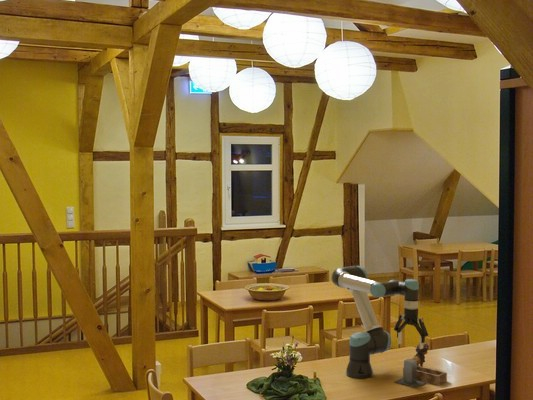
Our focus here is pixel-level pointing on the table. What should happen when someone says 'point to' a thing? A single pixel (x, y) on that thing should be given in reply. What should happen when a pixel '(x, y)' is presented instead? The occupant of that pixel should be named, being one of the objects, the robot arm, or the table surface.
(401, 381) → the rubber mat
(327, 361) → the table surface
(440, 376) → the channel
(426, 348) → the figurine
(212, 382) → the table surface
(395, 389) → the table surface
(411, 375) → the metal block
